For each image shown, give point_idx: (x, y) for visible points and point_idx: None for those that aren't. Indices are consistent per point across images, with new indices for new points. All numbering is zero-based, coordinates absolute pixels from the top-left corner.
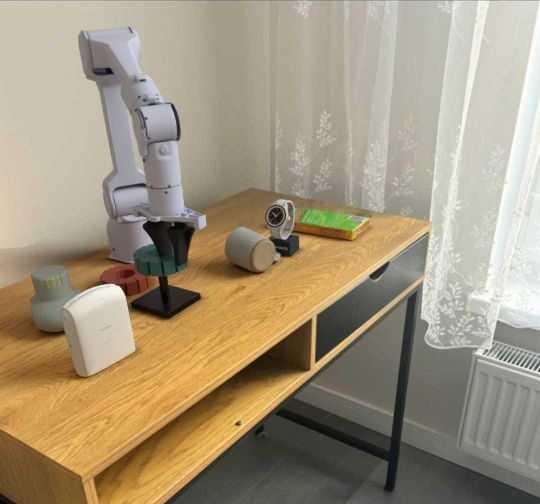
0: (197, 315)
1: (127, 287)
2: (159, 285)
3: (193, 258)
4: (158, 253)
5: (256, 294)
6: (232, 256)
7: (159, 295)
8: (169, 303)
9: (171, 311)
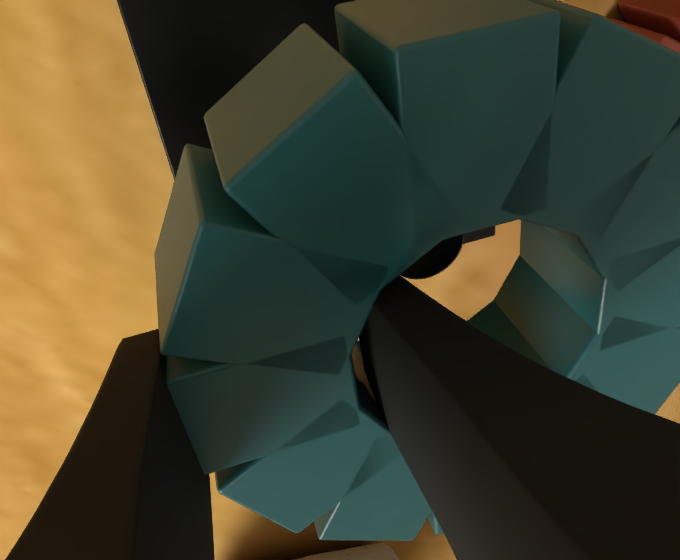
0: (24, 157)
1: (642, 32)
2: None
3: None
4: (434, 303)
5: (35, 496)
6: None
7: None
8: None
9: (126, 29)
